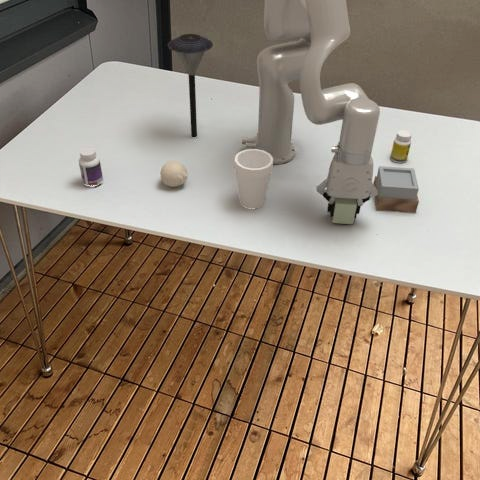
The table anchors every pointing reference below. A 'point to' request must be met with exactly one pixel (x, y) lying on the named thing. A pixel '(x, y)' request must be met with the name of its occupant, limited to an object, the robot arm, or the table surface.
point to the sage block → (344, 210)
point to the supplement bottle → (401, 146)
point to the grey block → (397, 183)
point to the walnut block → (394, 203)
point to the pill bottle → (90, 167)
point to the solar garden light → (191, 64)
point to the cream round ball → (173, 173)
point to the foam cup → (253, 176)
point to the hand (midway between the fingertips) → (342, 213)
